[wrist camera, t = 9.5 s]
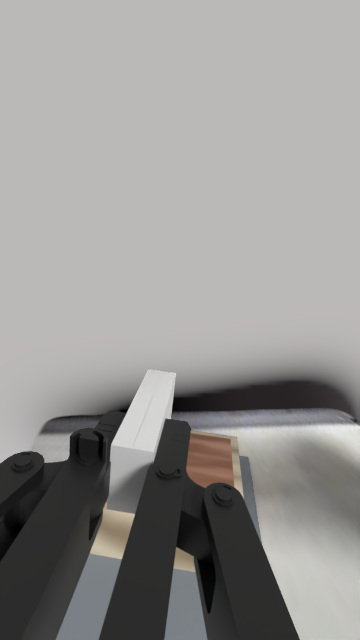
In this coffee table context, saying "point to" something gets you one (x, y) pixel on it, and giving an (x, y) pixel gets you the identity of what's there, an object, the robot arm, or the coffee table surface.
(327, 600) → the coffee table surface
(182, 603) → the slate mat
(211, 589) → the robot arm
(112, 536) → the birch slab
